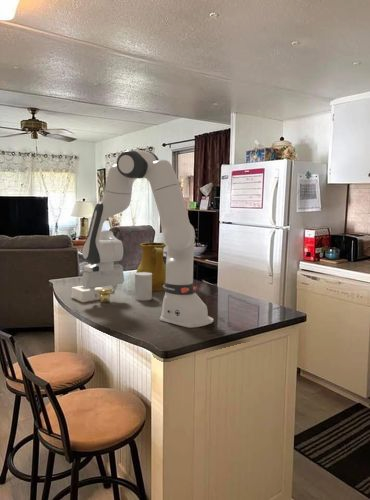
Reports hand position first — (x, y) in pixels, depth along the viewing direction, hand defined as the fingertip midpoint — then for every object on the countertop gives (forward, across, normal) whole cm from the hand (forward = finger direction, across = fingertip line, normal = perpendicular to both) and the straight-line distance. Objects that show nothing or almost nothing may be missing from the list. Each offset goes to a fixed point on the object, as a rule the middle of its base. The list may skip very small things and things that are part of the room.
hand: (103, 295), depth 181 cm
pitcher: (+3, -34, -7) cm, 35 cm away
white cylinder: (+3, -19, +5) cm, 20 cm away
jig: (+3, +2, -11) cm, 12 cm away
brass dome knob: (+3, -1, 0) cm, 3 cm away
